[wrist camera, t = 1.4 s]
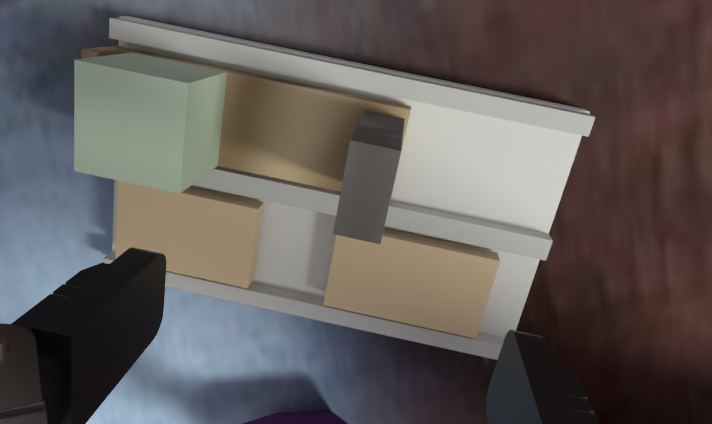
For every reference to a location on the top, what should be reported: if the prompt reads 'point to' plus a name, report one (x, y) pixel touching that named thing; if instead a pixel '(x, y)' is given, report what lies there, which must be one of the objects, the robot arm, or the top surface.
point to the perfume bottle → (300, 418)
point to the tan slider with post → (310, 140)
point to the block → (147, 120)
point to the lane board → (404, 217)
